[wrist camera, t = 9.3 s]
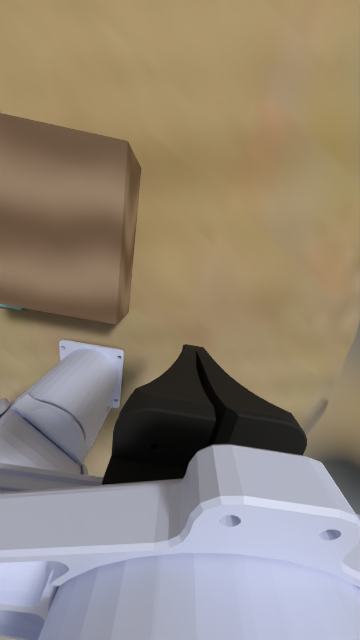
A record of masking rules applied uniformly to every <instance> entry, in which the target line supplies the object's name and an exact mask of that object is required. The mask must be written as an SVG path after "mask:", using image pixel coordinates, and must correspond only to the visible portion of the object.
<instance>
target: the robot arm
mask: <svg viewBox="0 0 360 640" xmlns="http://www.w3.org/2000/svg"><path fill="white" fill-rule="evenodd" d="M63 346H64V347H65V348H64V347H63ZM59 349H60V362H59V363H58V364H57V365H56V366H54V367H53V368H52V369H51V370H50V371H49V372H47V373H46V374H45V375H44V376H43V377H41V378H40V379H39V380H38V381H37V382H36V383H34V384H33V385H32V386H31V387H30V388H29V389H27V390H26V391H25V392H24V393H23V394H21V395H20V396H19V397H18V398H17V399H16V400H14V401H13V402H12V403H10V402H9V401H8V400H7V399H6V398H3V399H0V636H3V637H7V638H12V639H17V640H360V515H357V514H355V513H354V511H353V509H352V508H351V506H350V505H349V503H348V502H347V500H346V499H345V498H344V496H343V494H342V493H341V491H340V490H339V488H338V487H337V485H336V484H335V482H334V481H333V479H332V478H331V476H330V475H329V473H328V472H327V470H326V469H325V467H324V466H323V464H322V463H321V462H319V461H316V460H313V459H311V458H308V457H306V456H303V453H304V451H305V449H306V446H307V438H306V435H305V433H304V431H303V430H302V428H301V427H300V425H299V424H298V422H297V421H296V419H295V418H294V417H293V415H292V414H291V413H289V412H287V411H285V410H283V409H281V408H279V407H277V406H275V405H273V404H271V403H269V402H267V401H266V400H264V399H262V398H260V397H259V396H257V395H255V394H254V393H252V392H250V391H249V390H248V389H246V388H245V387H243V386H242V385H240V384H239V383H238V382H236V381H235V380H234V379H233V378H232V377H230V376H229V375H228V374H227V373H226V372H225V371H224V370H223V369H222V368H221V367H220V366H219V365H218V364H217V363H216V362H215V361H214V360H213V358H212V357H211V356H210V355H209V354H208V353H207V351H206V350H205V349H204V348H203V347H198V346H192V345H187V344H185V345H183V349H182V352H181V354H180V356H179V357H178V359H177V360H176V361H175V362H174V364H173V365H172V366H171V367H170V368H169V369H168V370H167V371H166V372H165V373H163V374H162V375H161V376H160V377H158V378H157V379H155V380H153V381H152V382H150V383H148V384H146V385H143V386H141V387H138V388H136V389H135V390H134V392H133V393H132V394H131V396H130V397H129V399H128V400H127V402H126V403H125V405H124V406H123V408H122V410H121V412H120V414H119V417H118V419H117V421H116V424H115V427H114V431H113V443H112V456H111V459H110V461H109V464H108V467H107V470H106V472H105V475H104V478H102V477H95V476H89V475H88V470H87V467H86V466H85V465H84V464H83V462H84V460H85V458H86V456H87V454H88V452H89V450H90V449H91V448H92V446H93V444H94V442H95V440H96V438H97V436H98V434H99V432H100V430H101V428H102V426H103V423H104V421H105V419H106V417H107V415H108V413H109V411H110V409H111V408H118V407H119V405H120V397H121V386H122V374H123V363H124V351H123V350H121V349H116V348H110V347H104V346H98V345H93V344H87V343H81V342H75V341H70V340H61V341H60V342H59ZM118 356H121V358H120V357H118Z"/></svg>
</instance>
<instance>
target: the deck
mask: <svg viewBox="0 0 360 640" xmlns="http://www.w3.org/2000/svg"><path fill="white" fill-rule="evenodd" d="M140 175H141V167H140V165H139V163H138V161H137V159H136V157H135V155H134V153H133V151H132V149H131V147H130V145H129V143H128V141H125V140H120V139H116V138H111V137H107V136H102V135H98V134H93V133H88V132H84V131H79V130H75V129H70V128H66V127H61V126H56V125H52V124H47V123H43V122H38V121H34V120H29V119H24V118H20V117H15V116H11V115H6V114H2V113H0V304H3V305H9V306H14V307H20V308H26V309H31V310H37V311H42V312H48V313H54V314H59V315H65V316H71V317H76V318H82V319H87V320H93V321H99V322H104V323H110V324H115V325H116V324H117V323H118V322H119V321H120V320H121V319H122V318H123V317H124V316H125V315H126V314H127V313H128V312H129V300H130V289H131V278H132V266H133V255H134V243H135V232H136V221H137V209H138V198H139V186H140Z"/></svg>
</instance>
